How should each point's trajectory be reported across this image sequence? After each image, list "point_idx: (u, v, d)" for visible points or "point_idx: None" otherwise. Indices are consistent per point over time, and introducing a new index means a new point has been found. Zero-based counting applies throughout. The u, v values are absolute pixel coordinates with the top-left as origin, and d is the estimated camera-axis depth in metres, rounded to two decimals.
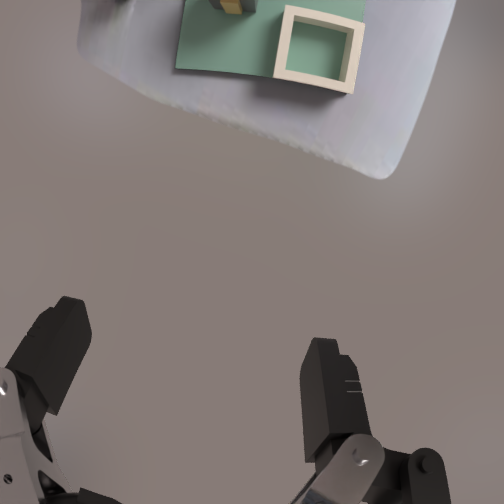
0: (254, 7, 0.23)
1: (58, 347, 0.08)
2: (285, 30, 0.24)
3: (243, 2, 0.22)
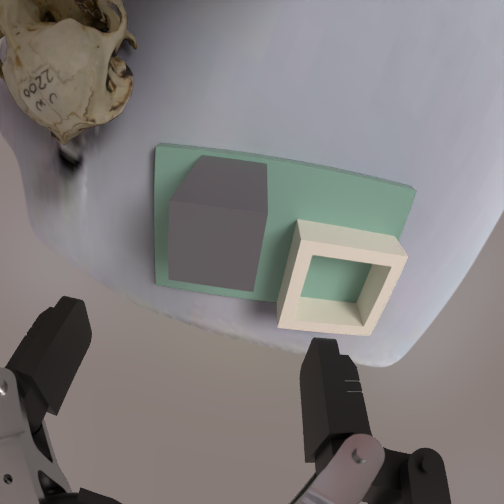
0: None
1: (58, 347, 0.08)
2: (297, 276, 0.22)
3: None
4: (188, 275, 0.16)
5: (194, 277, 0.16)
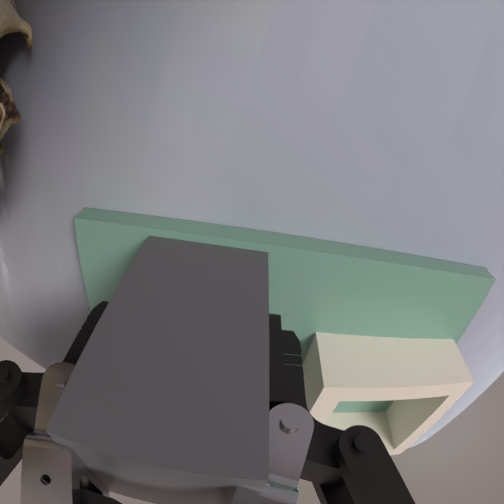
0: None
1: None
2: None
3: None
4: (128, 494, 0.06)
5: (138, 497, 0.07)
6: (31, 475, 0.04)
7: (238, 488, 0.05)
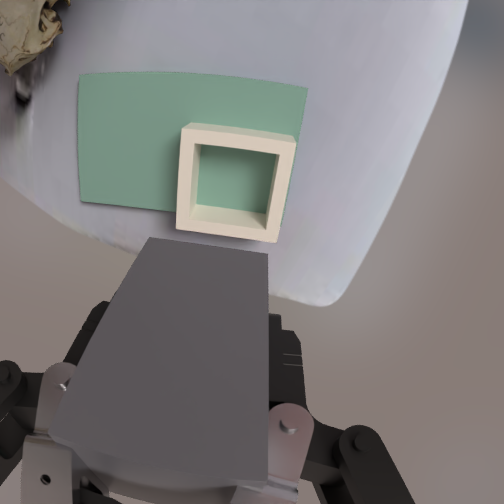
0: None
1: None
2: (184, 167, 0.22)
3: None
4: (128, 494, 0.07)
5: (139, 497, 0.07)
6: (31, 475, 0.04)
7: (238, 488, 0.05)
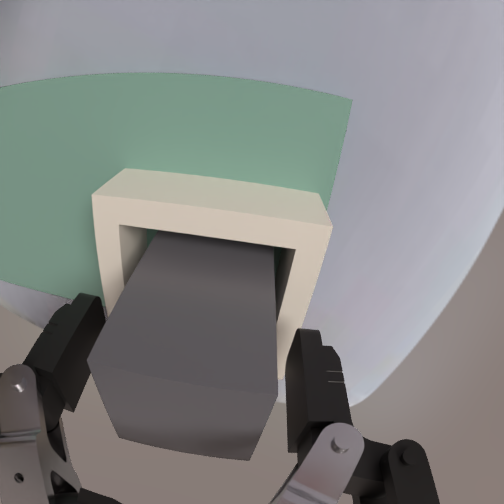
0: None
1: (76, 343, 0.08)
2: (108, 268, 0.11)
3: None
4: (146, 439, 0.08)
5: (156, 442, 0.08)
6: (5, 476, 0.03)
7: (281, 499, 0.05)
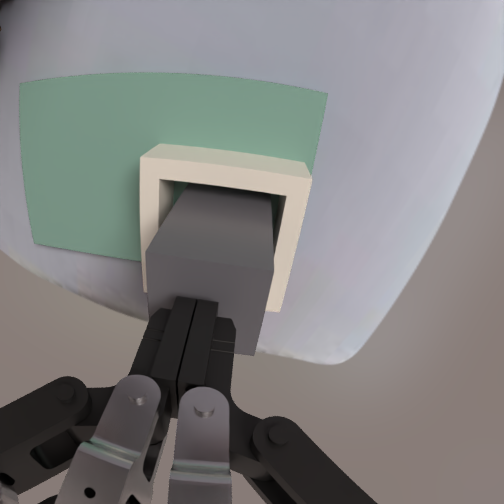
0: None
1: (186, 347, 0.09)
2: (147, 213, 0.15)
3: None
4: None
5: None
6: (75, 484, 0.04)
7: (170, 481, 0.05)
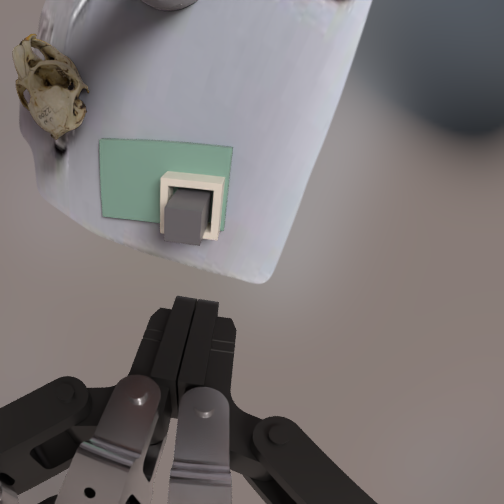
0: (206, 225, 0.42)
1: (186, 347, 0.09)
2: (163, 199, 0.40)
3: None
4: (172, 238, 0.37)
5: (174, 239, 0.37)
6: (75, 484, 0.04)
7: (170, 482, 0.05)
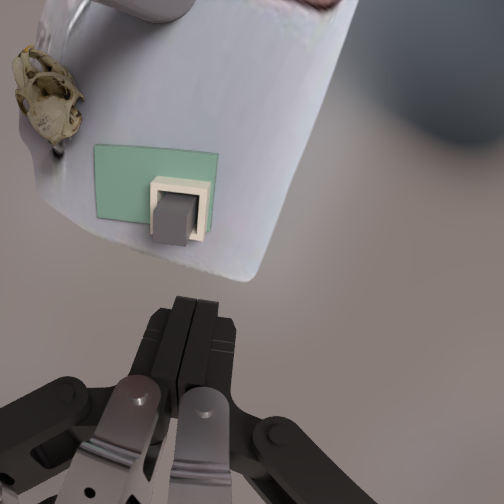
0: (193, 227, 0.45)
1: (186, 347, 0.09)
2: (152, 202, 0.42)
3: None
4: (160, 239, 0.40)
5: (162, 240, 0.40)
6: (75, 484, 0.04)
7: (170, 481, 0.05)
